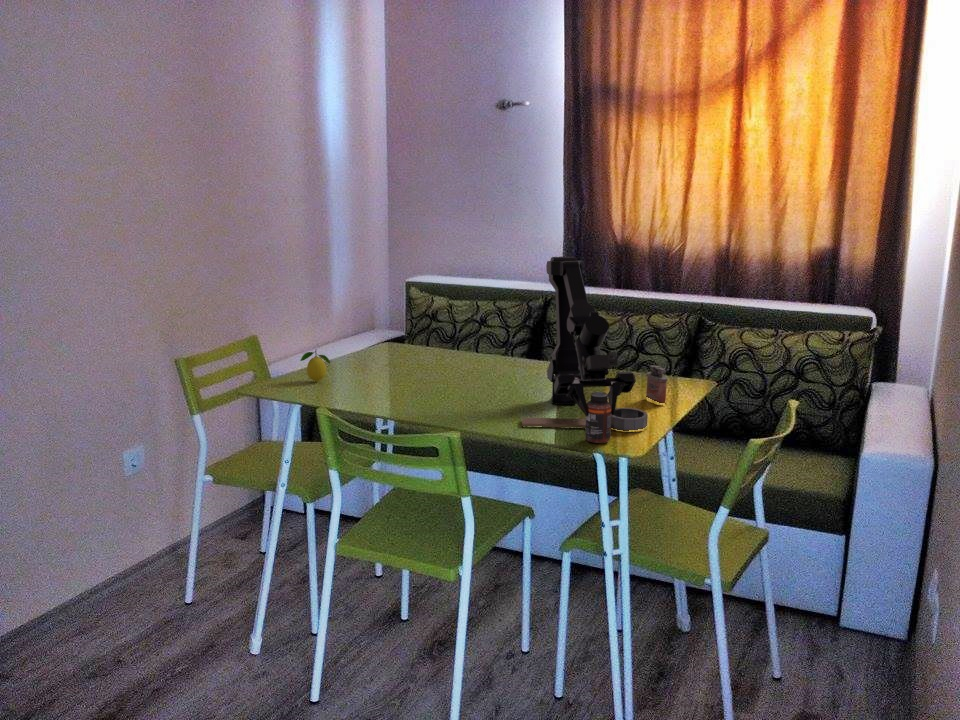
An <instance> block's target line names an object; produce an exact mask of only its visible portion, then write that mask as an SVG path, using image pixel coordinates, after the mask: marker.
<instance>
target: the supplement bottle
mask: <svg viewBox="0 0 960 720" xmlns="http://www.w3.org/2000/svg"><path fill="white" fill-rule="evenodd" d="M589 398H590V401H588V402H586V403H587V407H588V416H585V419H586V429H585V434H584V435H585V440H586V441H588V442H590V443H594V444H604V443H608V442H609V441H610V440H611V436H612V435H611V433H612V432H611V431H612V430H611V409H612V407H611V404H610V403H609V400H608V393H607V392H602V391H593V392H591V393H590V397H589Z"/></svg>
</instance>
